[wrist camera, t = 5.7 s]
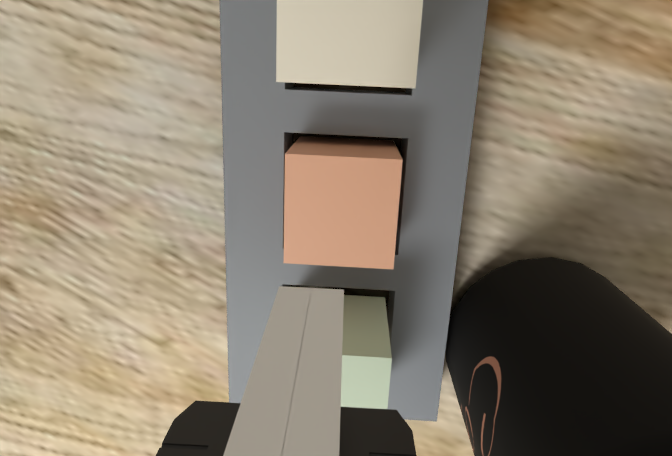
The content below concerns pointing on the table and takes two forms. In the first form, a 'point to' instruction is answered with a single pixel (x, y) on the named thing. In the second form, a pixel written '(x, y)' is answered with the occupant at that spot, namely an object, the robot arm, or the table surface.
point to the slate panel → (415, 191)
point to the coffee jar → (559, 365)
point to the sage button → (365, 353)
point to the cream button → (348, 42)
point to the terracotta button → (341, 202)
